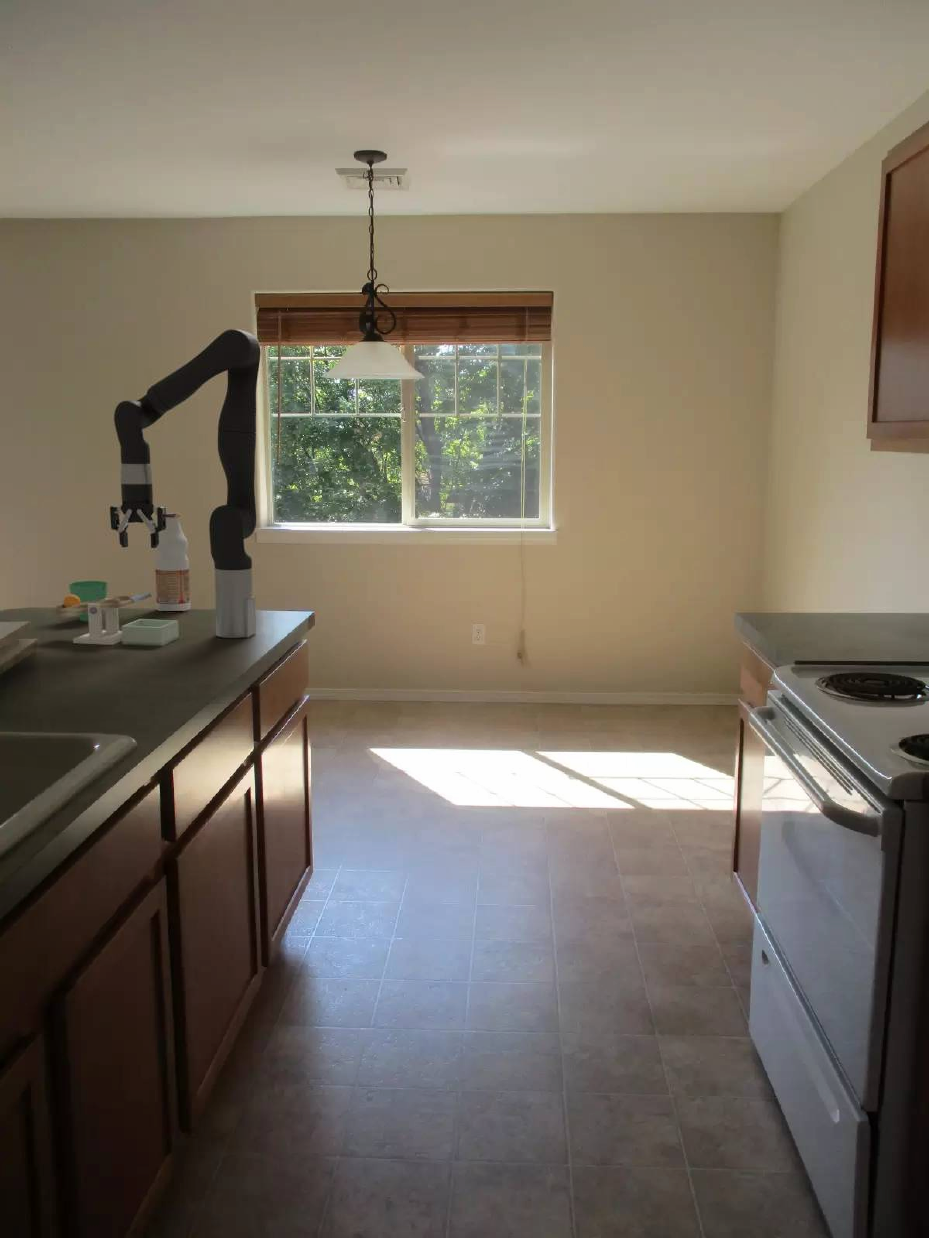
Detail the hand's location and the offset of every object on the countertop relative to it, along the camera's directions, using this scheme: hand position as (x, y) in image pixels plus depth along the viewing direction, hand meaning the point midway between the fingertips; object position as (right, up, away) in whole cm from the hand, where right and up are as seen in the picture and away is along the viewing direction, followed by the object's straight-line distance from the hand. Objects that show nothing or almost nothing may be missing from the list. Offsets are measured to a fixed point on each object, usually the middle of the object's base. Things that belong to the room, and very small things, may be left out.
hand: (139, 547), depth 256 cm
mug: (-20, -18, +21) cm, 34 cm away
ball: (-14, -14, -7) cm, 21 cm away
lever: (-7, -15, -3) cm, 17 cm away
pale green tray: (+6, -24, -8) cm, 26 cm away
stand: (-6, -23, -7) cm, 25 cm away
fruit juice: (-2, -16, +36) cm, 40 cm away
